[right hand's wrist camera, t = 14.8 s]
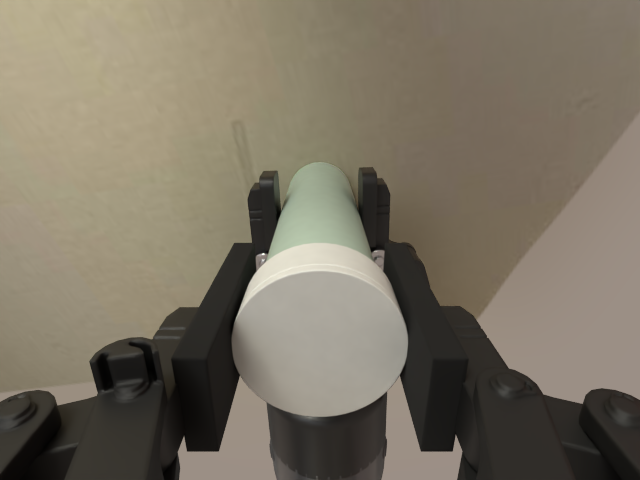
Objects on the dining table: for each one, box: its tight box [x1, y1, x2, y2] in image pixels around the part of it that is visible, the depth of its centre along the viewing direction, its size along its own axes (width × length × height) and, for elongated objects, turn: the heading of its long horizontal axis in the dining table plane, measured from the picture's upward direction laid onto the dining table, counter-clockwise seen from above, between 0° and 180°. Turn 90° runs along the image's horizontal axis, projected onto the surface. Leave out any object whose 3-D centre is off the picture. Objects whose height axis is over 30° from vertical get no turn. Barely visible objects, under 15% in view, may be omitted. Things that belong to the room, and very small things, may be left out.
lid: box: [231, 243, 408, 417], centre depth 11 cm, size 5×5×2 cm
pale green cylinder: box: [266, 162, 374, 262], centre depth 19 cm, size 4×4×16 cm
